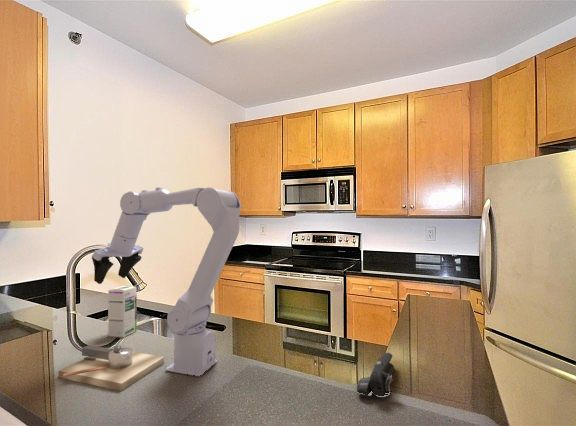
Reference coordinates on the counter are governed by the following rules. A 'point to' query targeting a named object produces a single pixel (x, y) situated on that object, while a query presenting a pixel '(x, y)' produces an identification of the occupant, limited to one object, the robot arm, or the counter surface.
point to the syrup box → (122, 311)
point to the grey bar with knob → (110, 355)
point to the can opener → (378, 377)
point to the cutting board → (111, 371)
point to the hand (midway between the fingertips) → (110, 279)
